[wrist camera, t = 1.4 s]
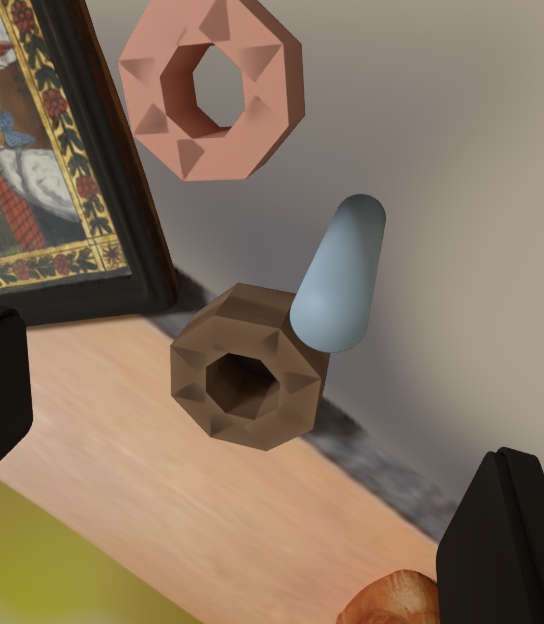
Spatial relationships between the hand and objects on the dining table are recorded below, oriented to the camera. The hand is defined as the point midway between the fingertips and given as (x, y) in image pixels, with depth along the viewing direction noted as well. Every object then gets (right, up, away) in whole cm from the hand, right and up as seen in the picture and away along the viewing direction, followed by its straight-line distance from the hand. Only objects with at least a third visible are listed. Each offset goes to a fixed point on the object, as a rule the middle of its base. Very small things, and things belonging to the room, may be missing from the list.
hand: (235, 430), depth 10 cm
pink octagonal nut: (-2, +14, +17) cm, 22 cm away
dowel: (+6, +8, +18) cm, 20 cm away
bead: (0, 0, +24) cm, 24 cm away
